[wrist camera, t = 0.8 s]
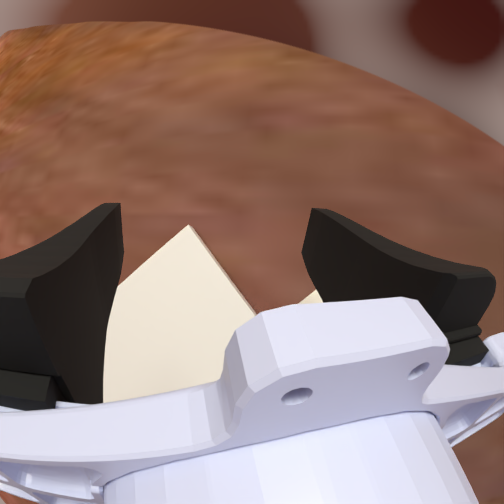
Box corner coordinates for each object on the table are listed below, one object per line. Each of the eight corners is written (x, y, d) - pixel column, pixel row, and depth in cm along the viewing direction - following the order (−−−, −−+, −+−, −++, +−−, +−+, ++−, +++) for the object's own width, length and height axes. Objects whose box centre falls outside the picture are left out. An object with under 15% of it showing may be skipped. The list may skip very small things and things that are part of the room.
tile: (327, 405, 22) (328, 409, 21) (165, 493, 23) (160, 498, 22) (192, 227, 27) (188, 224, 26) (64, 343, 28) (58, 343, 27)
